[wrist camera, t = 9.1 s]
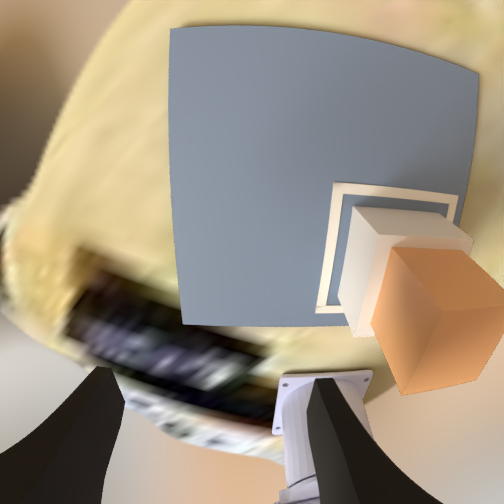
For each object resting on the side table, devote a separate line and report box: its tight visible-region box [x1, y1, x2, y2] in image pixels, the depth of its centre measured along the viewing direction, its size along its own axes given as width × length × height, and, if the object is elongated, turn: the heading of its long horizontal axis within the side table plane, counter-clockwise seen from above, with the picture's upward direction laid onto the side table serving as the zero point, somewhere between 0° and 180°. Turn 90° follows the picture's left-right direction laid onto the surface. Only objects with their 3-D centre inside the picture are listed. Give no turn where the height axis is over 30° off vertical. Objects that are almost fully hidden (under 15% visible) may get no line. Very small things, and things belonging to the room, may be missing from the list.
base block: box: [338, 206, 474, 337], centre depth 16 cm, size 6×6×4 cm
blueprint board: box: [168, 25, 479, 327], centre depth 17 cm, size 18×18×1 cm
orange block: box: [370, 247, 504, 395], centre depth 12 cm, size 4×4×5 cm
